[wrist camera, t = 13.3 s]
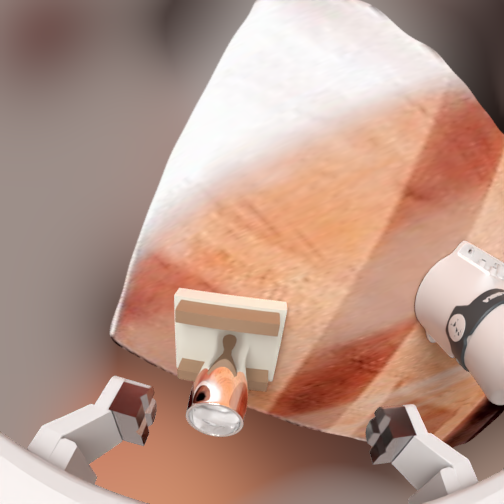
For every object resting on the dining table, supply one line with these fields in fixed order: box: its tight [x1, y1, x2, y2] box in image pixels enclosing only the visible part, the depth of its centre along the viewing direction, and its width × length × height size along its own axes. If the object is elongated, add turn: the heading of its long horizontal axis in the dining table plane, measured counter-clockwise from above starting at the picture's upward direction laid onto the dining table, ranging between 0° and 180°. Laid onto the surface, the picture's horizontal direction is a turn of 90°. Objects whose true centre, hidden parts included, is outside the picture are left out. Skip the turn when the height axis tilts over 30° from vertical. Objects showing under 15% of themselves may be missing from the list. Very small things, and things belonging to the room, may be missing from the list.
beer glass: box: [186, 330, 250, 436], centre depth 35 cm, size 7×7×15 cm
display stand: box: [174, 288, 287, 391], centre depth 42 cm, size 16×14×6 cm
